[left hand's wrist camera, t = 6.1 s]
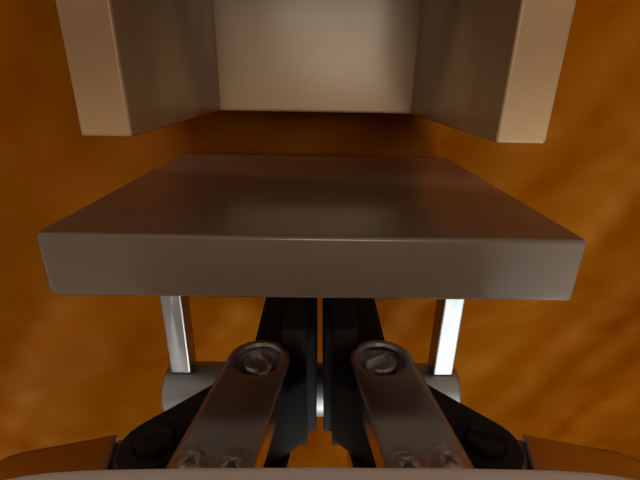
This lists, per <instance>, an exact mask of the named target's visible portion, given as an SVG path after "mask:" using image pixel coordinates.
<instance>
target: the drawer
mask: <svg viewBox="0 0 640 480" xmlns="http://www.w3.org/2000/svg"><path fill="white" fill-rule="evenodd" d="M55 1H56V6H57V11H58V16H59V21H60V26H61V31H62V36H63V41H64V46H65V51H66V56H67V61H68V66H69V71H70V76H71V81H72V86H73V91H74V96H75V101H76V107H77V112H78V117H79V122H80V127H81V132H82V134H83V135H85V136H111V137H131V136H134V135H138V134H141V133H144V132H148V131H151V130H155V129H158V128H161V127H165V126H168V125H172V124H175V123H178V122H182V121H185V120H189V119H192V118H195V117H199V116H202V115H206V114H209V113H212V112H216V111H219V110H227V111H284V112H341V113H398V114H414V115H416V116H419V117H422V118H425V119H428V120H431V121H434V122H437V123H440V124H443V125H446V126H449V127H452V128H455V129H458V130H461V131H464V132H467V133H470V134H473V135H476V136H479V137H482V138H485V139H488V140H491V141H494V142H497V143H531V144H541V143H544V142H545V139H546V134H547V130H548V125H549V121H550V116H551V112H552V107H553V103H554V98H555V94H556V89H557V85H558V80H559V76H560V71H561V67H562V62H563V58H564V53H565V49H566V44H567V40H568V35H569V30H570V26H571V21H572V17H573V12H574V8H575V3H576V0H55ZM37 240H38V244H39V248H40V251H41V255H42V259H43V263H44V267H45V270H46V274H47V278H48V282H49V286H50V289H51V292H52V294H54V295H116V296H160V300H161V307H162V314H163V320H164V327H165V334H166V340H167V347H168V354H169V360H170V365H169V367H168V369H167V371H166V374H165V377H164V381H163V386H162V408H163V411H164V412H165V411H166V410H168V409H170V408H172V407H173V406H175V405H177V404H179V403H180V402H182V401H184V400H186V399H188V398H189V397H191V396H193V395H195V394H196V393H198V392H200V391H202V390H204V389H205V388H207V387H209V386H211V385H212V384H214V382H215V380H216V378H217V376H218V375H219V373H220V371H221V369H222V368H223V366H224V364H225V362H215V361H196V355H195V346H194V338H193V330H192V321H191V313H190V305H189V296H206V297H295V298H384V299H437V304H436V311H435V318H434V325H433V332H432V339H431V346H430V353H429V360H428V363H415V364H416V366H417V368H418V369H419V371H420V373H421V375H422V376H423V378H424V380H425V382H426V384H428V385H429V386H431V387H433V388H435V389H436V390H438V391H440V392H442V393H444V394H445V395H447V396H449V397H451V398H452V399H454V400H456V401H458V402H459V403H461V389H460V383H459V379H458V375H457V372H456V370H455V368H454V361H455V356H456V350H457V344H458V338H459V333H460V327H461V321H462V315H463V310H464V304H465V299H474V300H563V301H567V300H569V299H570V298H571V294H572V291H573V287H574V284H575V280H576V277H577V273H578V270H579V266H580V263H581V259H582V256H583V252H584V249H585V245H586V241H585V240H584V239H583V238H581V237H579V236H578V235H576V234H574V233H573V232H571V231H569V230H568V229H566V228H564V227H562V226H561V225H559V224H557V223H556V222H554V221H552V220H551V219H549V218H547V217H545V216H544V215H542V214H540V213H539V212H537V211H535V210H534V209H532V208H530V207H528V206H527V205H525V204H523V203H522V202H520V201H518V200H517V199H515V198H513V197H511V196H510V195H508V194H506V193H505V192H503V191H501V190H500V189H498V188H496V187H494V186H493V185H491V184H489V183H488V182H486V181H484V180H483V179H481V178H479V177H477V176H476V175H474V174H472V173H471V172H469V171H467V170H466V169H464V168H462V167H460V166H459V165H457V164H455V163H454V162H452V161H450V160H449V159H447V158H418V157H356V156H293V155H231V154H182V155H180V156H178V157H177V158H175V159H173V160H171V161H169V162H167V163H165V164H164V165H162V166H160V167H158V168H156V169H154V170H153V171H151V172H149V173H147V174H145V175H143V176H141V177H140V178H138V179H136V180H134V181H132V182H130V183H128V184H127V185H125V186H123V187H121V188H119V189H117V190H116V191H114V192H112V193H110V194H108V195H106V196H104V197H103V198H101V199H99V200H97V201H95V202H93V203H91V204H90V205H88V206H86V207H84V208H82V209H80V210H78V211H77V212H75V213H73V214H71V215H69V216H67V217H66V218H64V219H62V220H60V221H58V222H56V223H54V224H53V225H51V226H49V227H47V228H45V229H43V230H41V231H40V232H38V233H37ZM317 417H323V362H317Z"/></svg>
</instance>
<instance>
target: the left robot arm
mask: <svg viewBox="0 0 640 480" xmlns="http://www.w3.org/2000/svg"><path fill="white" fill-rule="evenodd" d="M316 419H317V298H295V297H267V298H266V301H265V305H264V309H263V313H262V317H261V321H260V325H259V329H258V333H257V337H256V341H253V342H248V343H246V344H243V345H241V346H239V347H238V348H236V349H235V350H234V351H233V352H232V353H231V354H230V355H229V357H228V359H227V361H226V362H225V364H224V366H223V368H222V369H221V371H220V373H219V375H218V376H217V378H216V380H215V382H214V384H212V385H211V386H209V387H207V388H205V389H204V390H202V391H200V392H198V393H196V394H195V395H193V396H191V397H189V398H188V399H186V400H184V401H182V402H180V403H179V404H177V405H175V406H173V407H172V408H170V409H168V410H166V411H165V412H163V413H161V414H159V415H157V416H156V417H154V418H152V419H150V420H149V421H147V422H145V423H143V424H141V425H140V426H139V427H137V428H136V429H134V430H133V431H131V432H130V433H129V434H128V435H127V436H126V438H125V439H124V440H120V441H118V438H117V435H114V436H108V437H103V438H98V439H92V440H87V441H81V442H76V443H70V444H65V445H59V446H54V447H49V448H43V449H38V450H32V451H27V452H22V453H18V454H15V455H12V456H9V457H7V458H5V459H3V460H1V461H0V480H640V461H639V460H637V459H635V458H633V457H631V456H628V455H625V454H622V453H618V452H613V451H608V450H602V449H597V448H591V447H586V446H581V445H575V444H570V443H564V442H559V441H553V440H548V439H542V438H537V437H532V436H526V435H523V438H522V441H520V440H516V439H515V438H514V436H513V435H512V434H511V433H510V432H509V431H507V430H506V429H504V428H503V427H501V426H500V425H499V424H497V423H495V422H493V421H491V420H490V419H488V418H486V417H484V416H483V415H481V414H479V413H477V412H475V411H474V410H472V409H470V408H468V407H467V406H465V405H463V404H461V403H459V402H458V401H456V400H454V399H452V398H451V397H449V396H447V395H445V394H444V393H442V392H440V391H438V390H436V389H435V388H433V387H431V386H429V385H428V384H426V382H425V380H424V378H423V376H422V375H421V373H420V371H419V369H418V368H417V366H416V364H415V362H414V361H413V359H412V357H411V355H410V354H409V353H408V352H407V351H406V350H405V349H404V348H402V347H401V346H399V345H397V344H394V343H392V342H387V341H384V337H383V333H382V329H381V325H380V321H379V317H378V313H377V309H376V305H375V301H374V298H323V422H324V431H332V445H341V446H342V447H343V448H345V449H346V450H347V464H348V468H292V464H293V450H294V449H295V448H296V447H298V446H299V445H308V431H316Z"/></svg>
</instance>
